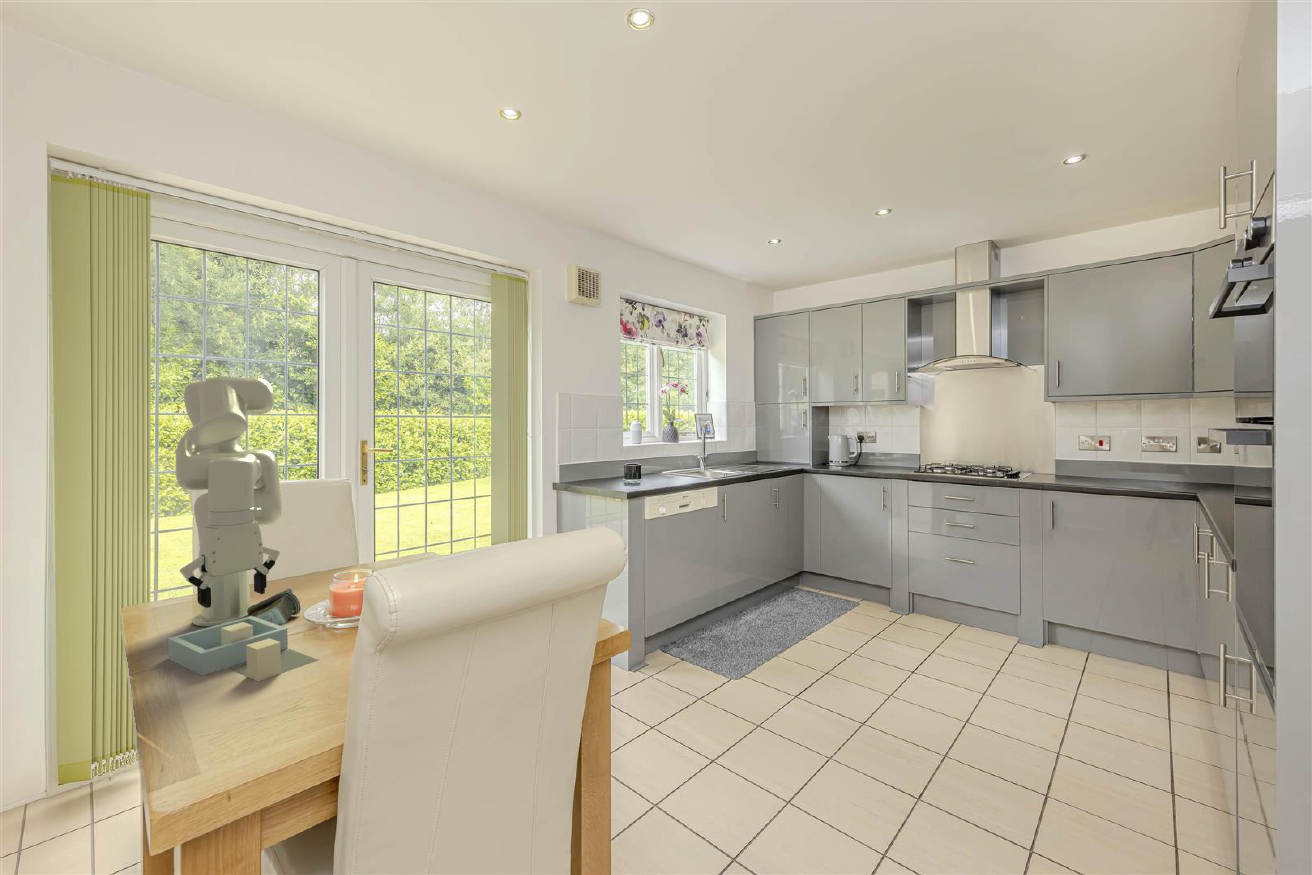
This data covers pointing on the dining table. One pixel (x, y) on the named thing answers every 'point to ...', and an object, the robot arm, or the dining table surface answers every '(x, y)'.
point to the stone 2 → (263, 659)
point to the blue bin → (220, 645)
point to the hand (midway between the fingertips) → (233, 599)
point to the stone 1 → (236, 632)
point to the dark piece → (276, 608)
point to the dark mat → (282, 662)
